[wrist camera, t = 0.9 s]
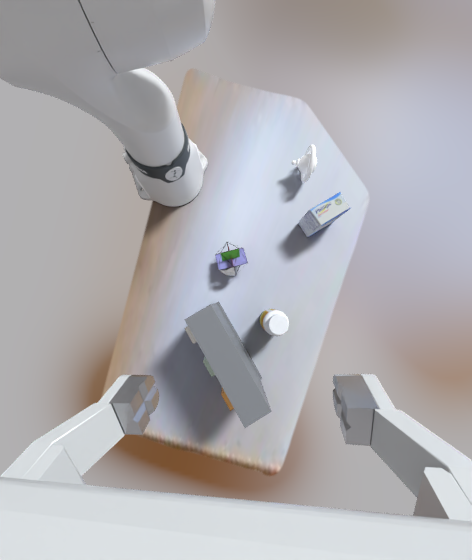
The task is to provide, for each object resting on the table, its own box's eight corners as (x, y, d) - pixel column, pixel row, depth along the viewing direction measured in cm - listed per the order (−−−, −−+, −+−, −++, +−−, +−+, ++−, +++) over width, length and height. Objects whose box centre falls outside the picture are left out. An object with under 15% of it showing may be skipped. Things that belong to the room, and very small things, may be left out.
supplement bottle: (263, 334, 53) (271, 343, 43) (255, 313, 54) (261, 316, 44) (284, 326, 53) (296, 333, 44) (276, 305, 54) (286, 307, 44)
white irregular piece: (308, 189, 56) (320, 171, 48) (285, 186, 56) (294, 168, 48) (311, 159, 57) (324, 137, 49) (289, 156, 57) (298, 133, 49)
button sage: (204, 356, 45) (202, 361, 42) (217, 348, 46) (216, 352, 42) (213, 371, 45) (211, 377, 42) (226, 363, 45) (225, 368, 42)
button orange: (222, 387, 45) (221, 394, 42) (234, 379, 45) (235, 385, 42) (230, 402, 45) (230, 410, 41) (243, 394, 45) (244, 402, 41)
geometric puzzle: (211, 241, 53) (214, 256, 46) (239, 234, 53) (246, 248, 46) (218, 267, 56) (222, 284, 50) (244, 261, 57) (251, 277, 50)
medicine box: (306, 238, 55) (320, 227, 47) (297, 223, 56) (309, 209, 47) (333, 222, 56) (351, 208, 47) (323, 207, 56) (340, 190, 47)
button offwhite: (187, 326, 46) (184, 328, 42) (200, 318, 46) (198, 320, 43) (196, 340, 46) (193, 344, 42) (208, 333, 46) (207, 335, 42)
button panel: (193, 316, 53) (176, 324, 37) (218, 301, 54) (213, 303, 38) (235, 391, 52) (236, 433, 36) (261, 375, 52) (274, 409, 36)
